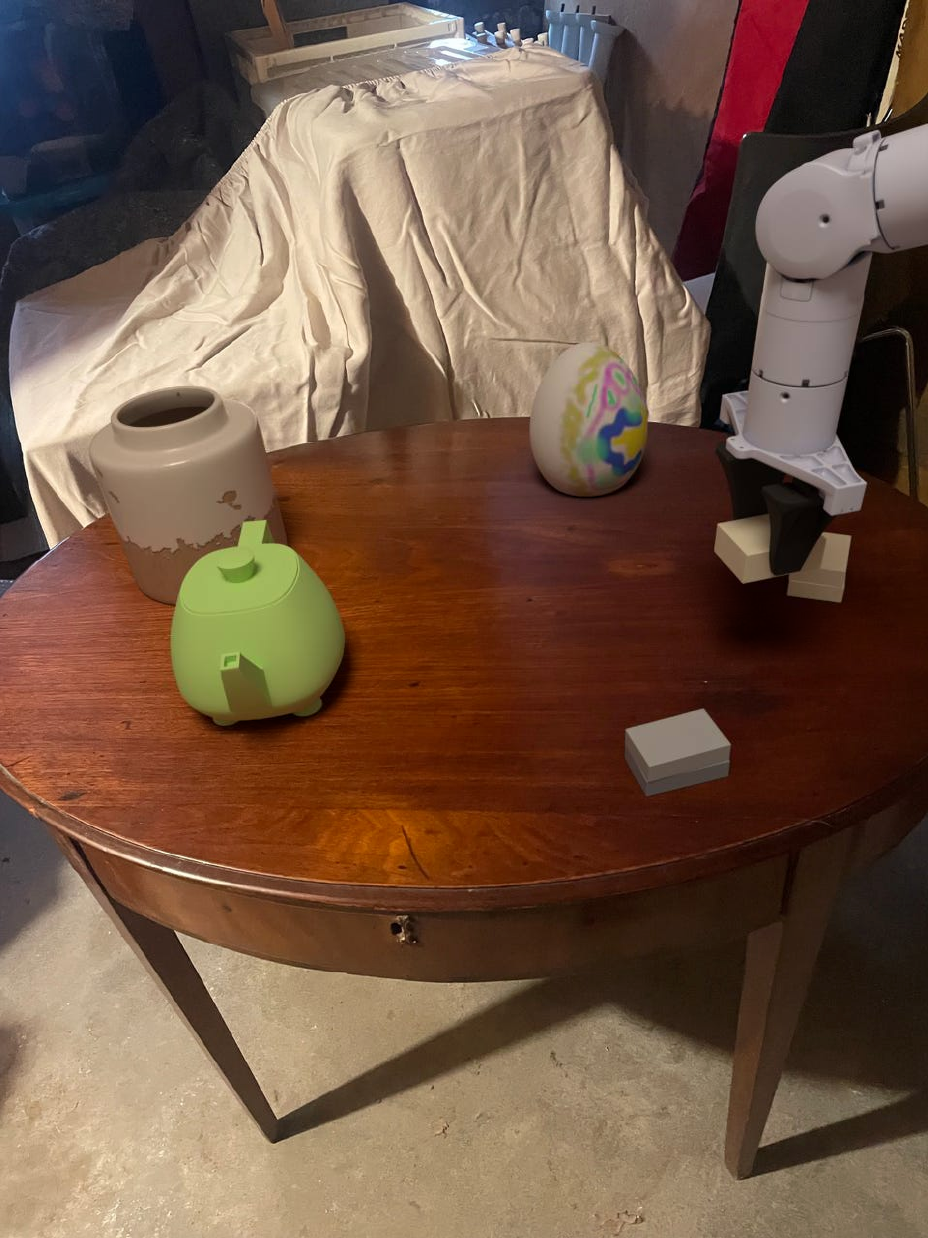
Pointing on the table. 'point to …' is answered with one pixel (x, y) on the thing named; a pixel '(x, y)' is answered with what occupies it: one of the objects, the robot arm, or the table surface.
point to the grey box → (677, 752)
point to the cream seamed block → (824, 572)
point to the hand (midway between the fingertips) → (767, 552)
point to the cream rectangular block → (754, 548)
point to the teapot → (254, 632)
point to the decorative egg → (588, 422)
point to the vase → (182, 481)
